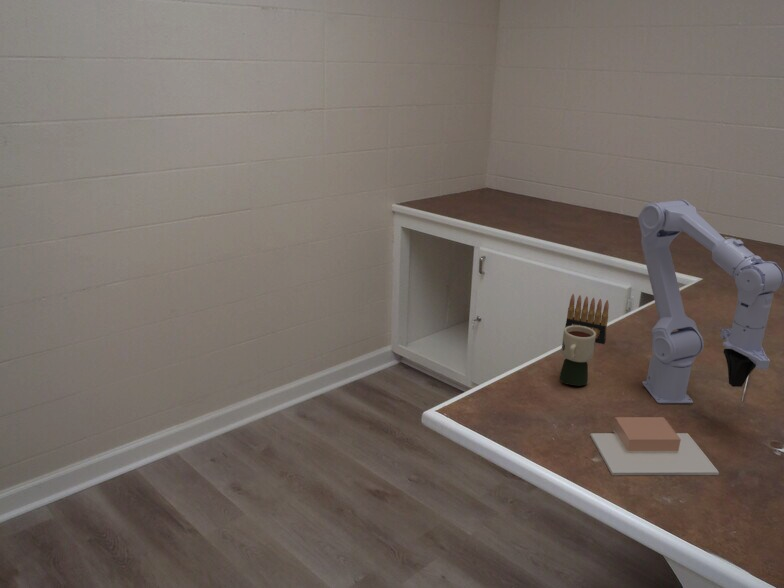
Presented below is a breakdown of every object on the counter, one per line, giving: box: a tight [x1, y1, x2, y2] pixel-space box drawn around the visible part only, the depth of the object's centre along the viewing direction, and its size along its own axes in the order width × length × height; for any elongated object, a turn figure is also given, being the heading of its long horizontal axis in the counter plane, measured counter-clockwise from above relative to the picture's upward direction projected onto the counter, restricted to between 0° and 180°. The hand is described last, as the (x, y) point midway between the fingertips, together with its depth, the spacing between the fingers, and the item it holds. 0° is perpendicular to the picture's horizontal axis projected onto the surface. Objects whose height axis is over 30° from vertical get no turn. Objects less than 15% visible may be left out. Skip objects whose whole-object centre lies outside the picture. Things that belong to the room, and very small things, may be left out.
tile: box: [612, 416, 681, 453], centre depth 133 cm, size 3×10×8 cm
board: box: [589, 432, 720, 476], centre depth 130 cm, size 13×20×1 cm, turn 92°
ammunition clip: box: [564, 293, 610, 345], centre depth 177 cm, size 11×2×12 cm, turn 63°
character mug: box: [559, 325, 596, 387], centre depth 154 cm, size 11×7×13 cm, turn 148°
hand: (735, 385), depth 135 cm, fingers closed
